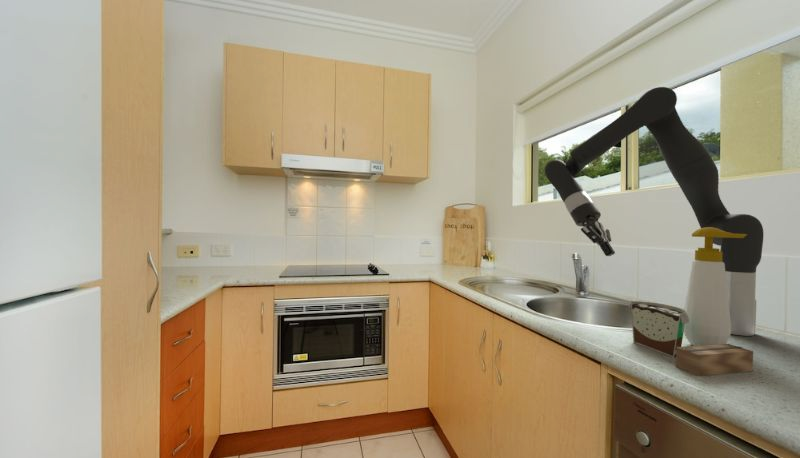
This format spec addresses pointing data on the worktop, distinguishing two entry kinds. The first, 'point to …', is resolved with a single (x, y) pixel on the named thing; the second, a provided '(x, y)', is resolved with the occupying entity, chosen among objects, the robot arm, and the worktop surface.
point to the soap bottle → (708, 293)
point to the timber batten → (714, 359)
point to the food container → (658, 326)
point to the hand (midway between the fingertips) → (610, 254)
